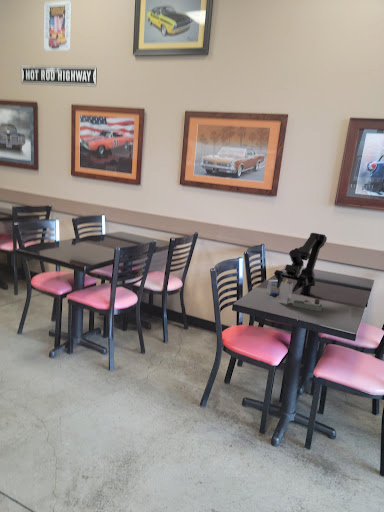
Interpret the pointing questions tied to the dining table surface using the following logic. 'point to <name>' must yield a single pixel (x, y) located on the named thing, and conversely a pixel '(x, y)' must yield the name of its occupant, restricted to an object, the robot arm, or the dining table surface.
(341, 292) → the dining table surface
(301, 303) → the press bed
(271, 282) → the medicine box
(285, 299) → the housing
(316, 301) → the ram
